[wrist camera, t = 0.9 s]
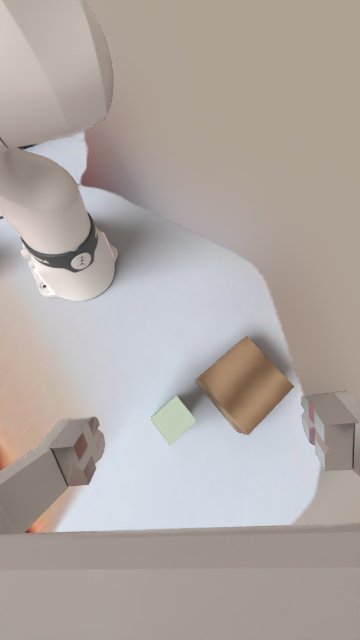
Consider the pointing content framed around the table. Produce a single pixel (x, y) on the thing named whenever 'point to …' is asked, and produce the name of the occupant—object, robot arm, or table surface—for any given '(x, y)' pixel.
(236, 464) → the table surface
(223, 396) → the walnut block
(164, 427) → the sage block
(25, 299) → the table surface
